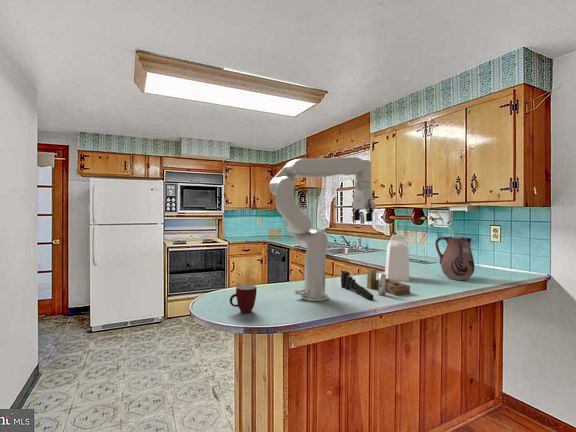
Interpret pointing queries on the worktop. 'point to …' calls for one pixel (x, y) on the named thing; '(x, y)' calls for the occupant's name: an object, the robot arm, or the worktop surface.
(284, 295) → the worktop surface
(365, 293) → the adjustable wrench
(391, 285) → the socket block
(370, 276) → the square bit
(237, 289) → the mug
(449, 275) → the ceramic pitcher
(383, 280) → the round bit
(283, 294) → the worktop surface
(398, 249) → the milk
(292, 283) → the worktop surface
